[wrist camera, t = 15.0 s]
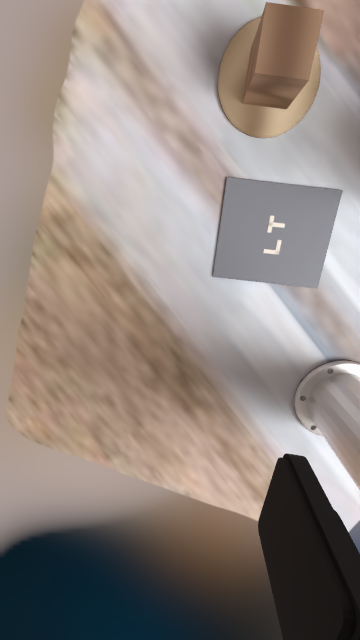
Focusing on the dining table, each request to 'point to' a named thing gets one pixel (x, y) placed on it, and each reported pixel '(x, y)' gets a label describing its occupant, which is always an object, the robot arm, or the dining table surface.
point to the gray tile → (274, 232)
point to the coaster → (252, 116)
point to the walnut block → (281, 55)
